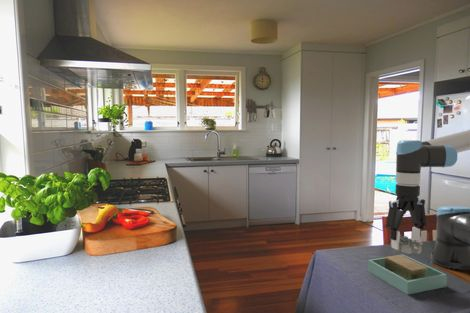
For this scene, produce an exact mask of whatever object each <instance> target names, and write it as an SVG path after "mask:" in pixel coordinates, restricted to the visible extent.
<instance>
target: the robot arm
mask: <svg viewBox="0 0 470 313" xmlns="http://www.w3.org/2000/svg"><path fill="white" fill-rule="evenodd" d="M465 151H470V129H467V130H463V131H460V132H456V133H452V134H448V135H444V136H440V137H436V138H433V139H428V140H425V141H421V140H414V139H413V140H412V139H409V140H407V139H406V140H404V139H401V140H399V141H398V142H397V144H396V151H395V154H396V157H395V158H396V162H395V163H396V167H395V168H396V169H395V183H396V184H395V195H396V199H395V200H389V201H388V213H387V218H386V222H385V229H388V230H389V231H390V234H391V236H390V240H391V239H392V245H391V248H392V249H394V250H396V251H400V249H399V239H400V236H401V232H400V231H399V228H400V226H401V223H402V221H403V218H404V216H405V215H406V214H407V212H409V215H410V217H411V220H412V223H413V226H412V227H411V229H412V230H411V239H414V240H417V241H421V237H422V230H424V229H425V227H426V226H427V217H426V209H425V204H426V200H425V199H424V198H419V197H420V195H421V186H420V185H421V170H422V169H421V168H448V167H449V168H450V167H453V166H455V165H456V163H457V161H458V153H462V152H465ZM435 236H436V237H435V238H436V241H435V243H434V246H433V247H432V250H431V252H430V261H431V262H432V263H434V264H436V265H437V266H441V267H442V268H446V267H447V268H446V269H450V268H453V269H452V270H455V269H459V270H458V271H470V207H469V206H460V205H443V206H440V207H439V206H438V208H437V212H436V235H435Z"/></svg>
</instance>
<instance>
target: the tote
mask: <svg viewBox="0 0 470 313" xmlns="http://www.w3.org/2000/svg"><path fill="white" fill-rule="evenodd" d="M401 255H402V256H404V257H406V258H408V259H410V260H413V261H415V262H417V263H419V264H421V265H423V266H425V267H428V270H427V277H424V278H419V279H414V280H408V281H407V280H406V279H404V278H402V277H400V276H398V275H397V274H395V273H393V272H391V271H389V270H388V269H386V268H385V257H386V256H385V257H379V258H372V259H371V258H370V259H368V260H367V272H368V273H371V274H372V275H374V276H375V277H377V278H379V279H381V280H382V281H384V282H386V283H387V284H389V285H390V286H392V287H394V288H395V289H398V290H399V291H400V292H402V293H404V294H406V295H408V296H409V295H413V294H417V293H424V292H427V291H433V290H436V289H437V290H438V289H443V288H447V287H448V286H447V284H448V283H447V281H448V280H447V279H448V274H447V273H444V272H442V271H440V270H438V269H436V268H433V267H431V266H429V265H427V264H424V263H422V262H420V261H418V260H416V259H414V258H412V257H410V256H408V255H405V254H401Z"/></svg>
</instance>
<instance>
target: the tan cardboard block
mask: <svg viewBox="0 0 470 313" xmlns="http://www.w3.org/2000/svg"><path fill="white" fill-rule="evenodd" d="M402 255H403V254H397V255H396V254H395V255H389V256H385V268H386V269H388V270H389V271H391V272H393V273H395V274H397V275H398V276H400V277H402V278H404V279H406V280H407V281H408V280H414V279H419V278H424V277H427V270H428V267H425V266H423V265H421V264H419V263H417V262H415V261H413V260H410V259H408V258H406V257H404V256H402Z"/></svg>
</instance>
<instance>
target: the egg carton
mask: <svg viewBox="0 0 470 313" xmlns="http://www.w3.org/2000/svg"><path fill="white" fill-rule="evenodd" d="M389 236H390V237H391V233H390V234H389ZM424 244H425V242H424V241H422V240H420V241H417V240H414V239H412V238H409V236H407V235H405V236H403V235H402V234H400V239H399V250H401V253H402V254H408V255H411V254H412V253H415V254H418V255H419V254H421V253H422V250H423V247H422V245H424ZM390 246H392V239H391V238H390Z"/></svg>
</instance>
